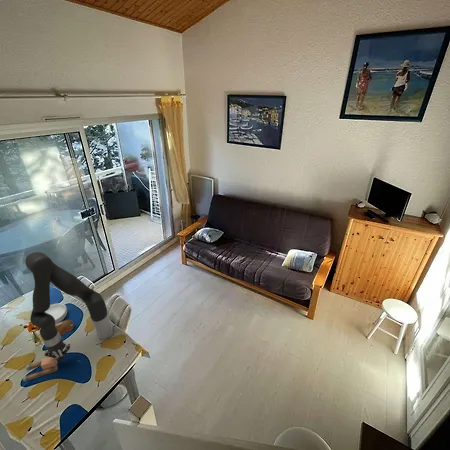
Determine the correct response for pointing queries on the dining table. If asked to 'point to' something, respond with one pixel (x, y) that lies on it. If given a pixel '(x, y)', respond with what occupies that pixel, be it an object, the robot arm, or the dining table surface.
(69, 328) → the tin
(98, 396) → the dining table surface
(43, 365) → the block
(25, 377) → the pair of brown rods
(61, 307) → the cereal bowl
